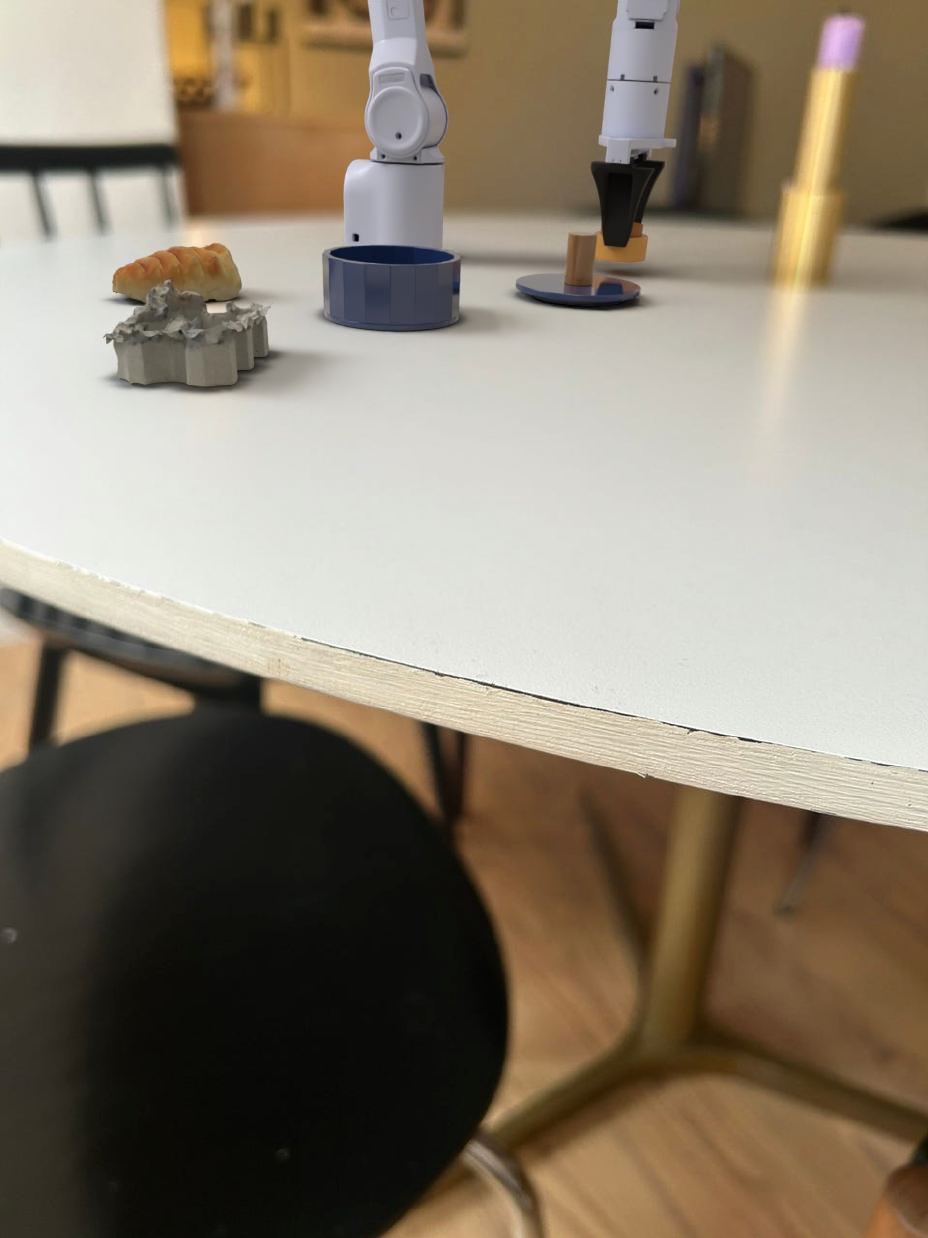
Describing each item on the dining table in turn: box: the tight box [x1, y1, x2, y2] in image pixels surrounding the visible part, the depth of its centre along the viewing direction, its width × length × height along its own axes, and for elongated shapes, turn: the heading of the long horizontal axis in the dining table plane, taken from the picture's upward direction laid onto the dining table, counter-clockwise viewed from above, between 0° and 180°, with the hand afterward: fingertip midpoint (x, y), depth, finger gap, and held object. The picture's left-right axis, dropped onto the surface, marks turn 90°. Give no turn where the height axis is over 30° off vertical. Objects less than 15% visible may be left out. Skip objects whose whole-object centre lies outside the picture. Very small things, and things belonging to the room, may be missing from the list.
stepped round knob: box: [594, 222, 649, 264], centre depth 93 cm, size 5×5×3 cm
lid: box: [515, 231, 642, 307], centre depth 81 cm, size 11×11×5 cm
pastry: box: [111, 242, 243, 304], centre depth 74 cm, size 9×7×4 cm
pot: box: [321, 244, 462, 332], centre depth 71 cm, size 10×10×4 cm
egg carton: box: [102, 279, 272, 387], centre depth 56 cm, size 11×8×4 cm
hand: (620, 242), depth 93 cm, fingers closed on stepped round knob, 5 cm apart
